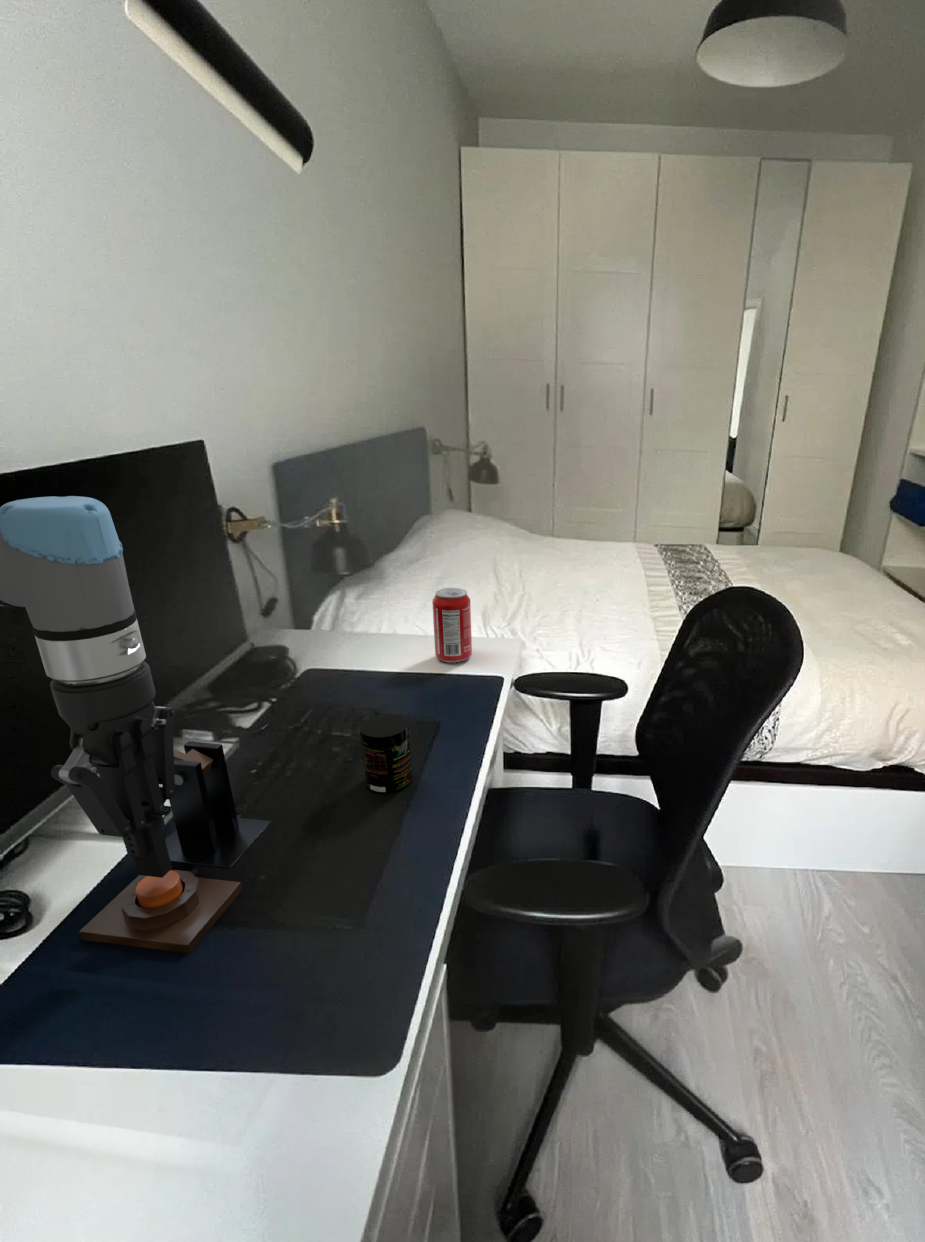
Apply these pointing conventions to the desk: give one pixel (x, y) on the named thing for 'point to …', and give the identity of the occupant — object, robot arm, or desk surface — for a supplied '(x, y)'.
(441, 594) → the soda can
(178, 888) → the button
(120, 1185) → the desk surface
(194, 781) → the bracket
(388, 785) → the supplement container
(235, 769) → the desk surface
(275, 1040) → the desk surface
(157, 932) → the button block
